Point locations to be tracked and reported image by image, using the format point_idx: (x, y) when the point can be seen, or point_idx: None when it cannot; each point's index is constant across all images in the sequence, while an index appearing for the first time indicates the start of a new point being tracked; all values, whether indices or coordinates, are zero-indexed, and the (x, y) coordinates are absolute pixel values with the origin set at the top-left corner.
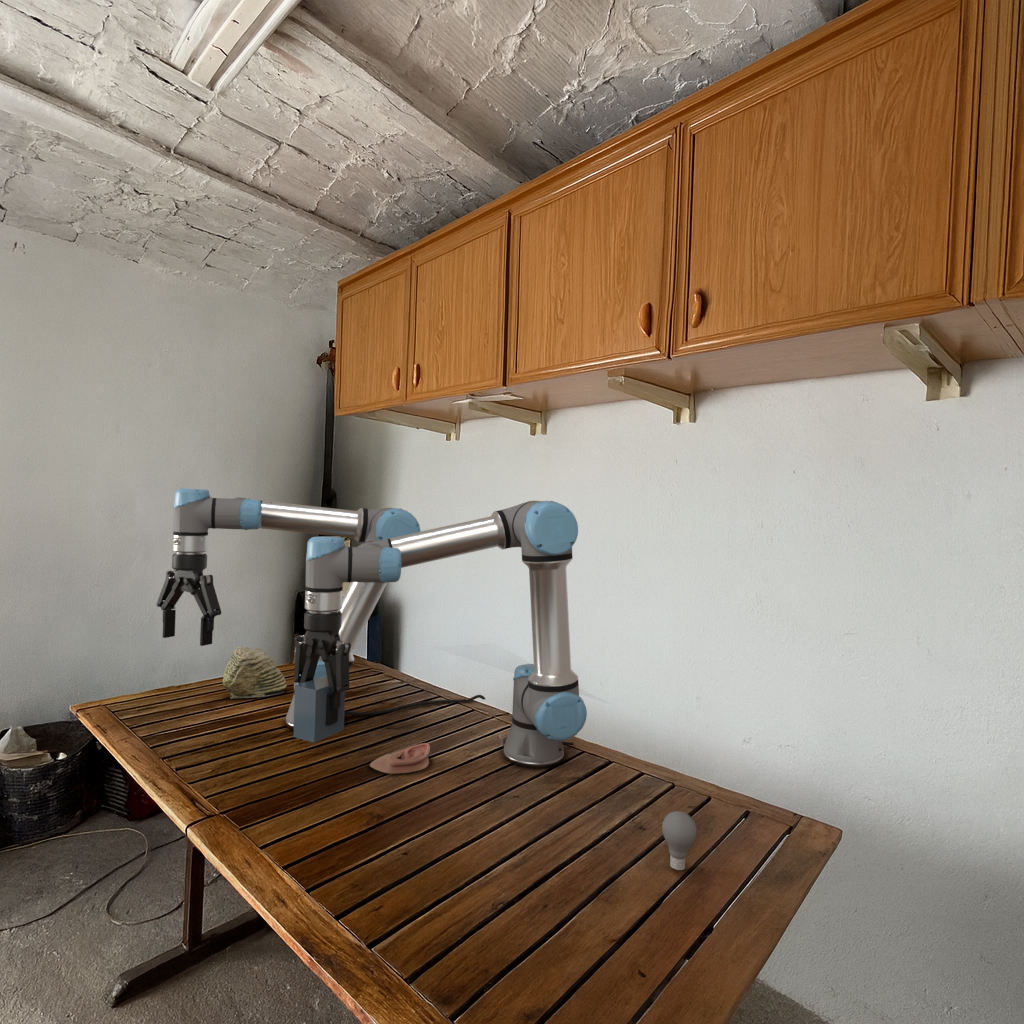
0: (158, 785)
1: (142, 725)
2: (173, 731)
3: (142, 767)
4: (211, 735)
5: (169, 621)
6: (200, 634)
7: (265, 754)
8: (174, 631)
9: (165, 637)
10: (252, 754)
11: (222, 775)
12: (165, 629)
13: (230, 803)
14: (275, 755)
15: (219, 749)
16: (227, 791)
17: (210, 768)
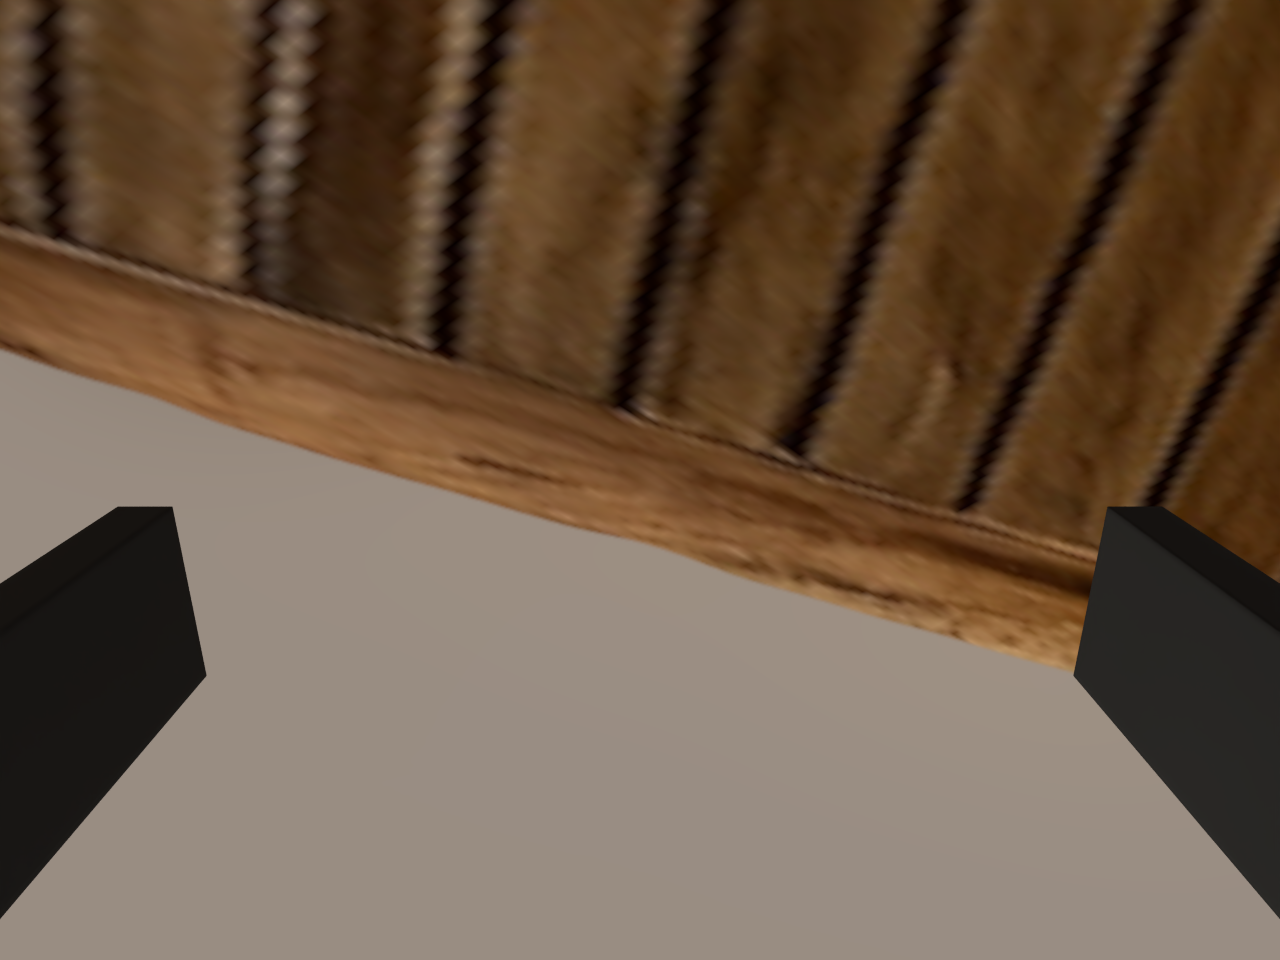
0: (862, 584)
1: (54, 165)
2: (297, 123)
3: (638, 516)
4: (544, 30)
5: (9, 793)
6: (1184, 800)
7: (1063, 61)
8: (123, 548)
9: (200, 664)
10: (993, 106)
11: (1039, 381)
12: (125, 755)
13: (1263, 538)
14: (1128, 37)
15: (771, 162)
16: (1177, 476)
17: (926, 359)
